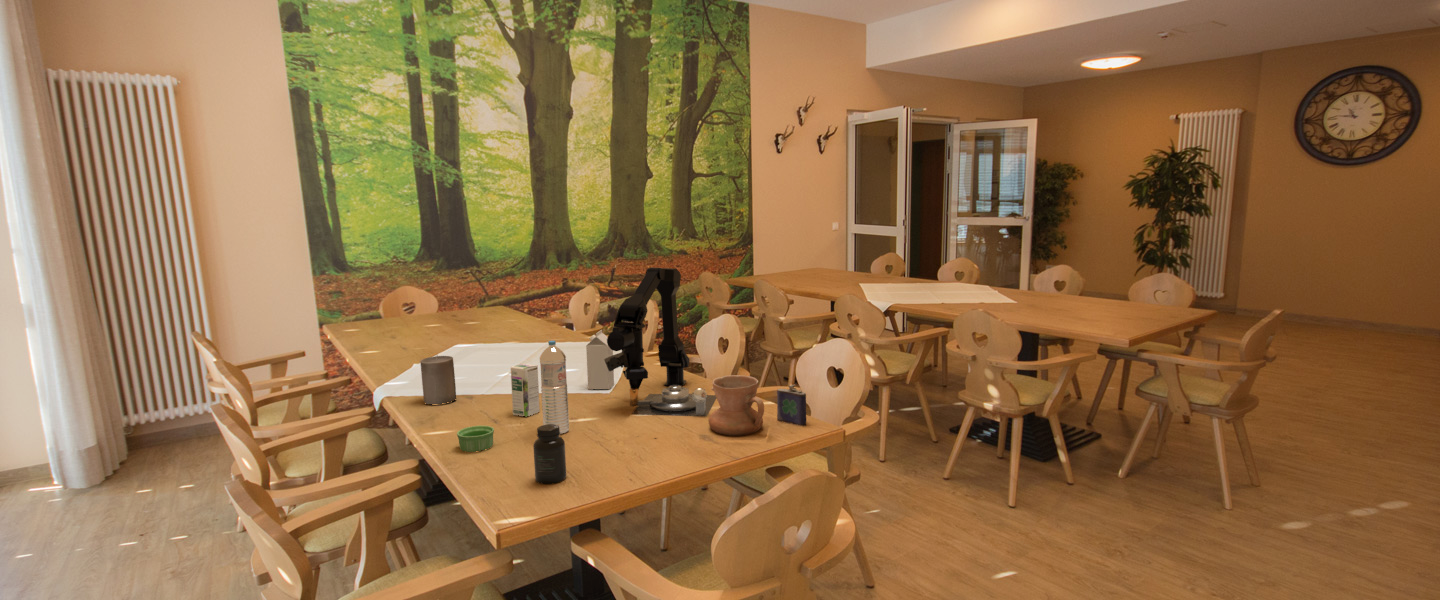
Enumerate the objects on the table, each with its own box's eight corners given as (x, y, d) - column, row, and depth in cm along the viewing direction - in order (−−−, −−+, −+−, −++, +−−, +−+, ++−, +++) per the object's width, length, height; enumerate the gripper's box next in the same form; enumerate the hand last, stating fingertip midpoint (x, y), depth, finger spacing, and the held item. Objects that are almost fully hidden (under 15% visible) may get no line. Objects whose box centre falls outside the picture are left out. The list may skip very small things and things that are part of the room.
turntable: (631, 398, 221) (630, 382, 220) (701, 395, 223) (700, 379, 222) (629, 413, 205) (629, 396, 205) (705, 409, 207) (704, 393, 207)
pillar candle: (457, 396, 232) (453, 350, 230) (456, 403, 223) (452, 356, 221) (424, 399, 229) (420, 353, 227) (422, 407, 220) (418, 359, 218)
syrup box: (512, 415, 210) (509, 366, 208) (526, 409, 215) (523, 362, 213) (526, 417, 207) (524, 368, 205) (540, 412, 212) (538, 364, 210)
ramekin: (466, 441, 188) (464, 425, 187) (500, 441, 187) (499, 425, 187) (452, 453, 179) (451, 436, 178) (487, 453, 179) (486, 436, 178)
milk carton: (614, 384, 243) (612, 329, 240) (609, 390, 236) (606, 333, 233) (593, 384, 243) (591, 329, 241) (587, 390, 236) (585, 333, 234)
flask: (775, 420, 201) (775, 383, 199) (781, 418, 203) (781, 381, 201) (803, 427, 195) (803, 388, 193) (809, 424, 197) (809, 386, 196)
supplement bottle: (545, 471, 166) (542, 421, 164) (571, 474, 164) (569, 423, 162) (529, 483, 159) (526, 431, 157) (556, 486, 157) (554, 433, 155)
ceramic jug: (694, 431, 193) (693, 379, 190) (732, 418, 203) (732, 369, 200) (742, 448, 180) (741, 393, 178) (780, 434, 190) (780, 382, 187)
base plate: (649, 396, 227) (649, 393, 227) (718, 398, 224) (718, 395, 224) (631, 417, 205) (630, 414, 205) (706, 419, 202) (706, 416, 202)
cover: (662, 396, 218) (661, 383, 218) (688, 395, 219) (688, 382, 218) (662, 404, 210) (661, 390, 210) (689, 403, 211) (689, 389, 210)
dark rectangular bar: (694, 412, 206) (694, 385, 205) (708, 413, 205) (708, 385, 204) (692, 416, 203) (692, 388, 201) (706, 416, 202) (706, 389, 201)
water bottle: (560, 426, 199) (556, 337, 196) (574, 431, 194) (570, 340, 191) (538, 431, 194) (533, 341, 191) (552, 437, 189) (547, 344, 186)
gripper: (603, 340, 221) (604, 389, 223) (608, 352, 203) (609, 405, 205) (639, 338, 223) (640, 387, 226) (647, 350, 205) (648, 403, 208)
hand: (634, 395), depth 216 cm, fingers closed
